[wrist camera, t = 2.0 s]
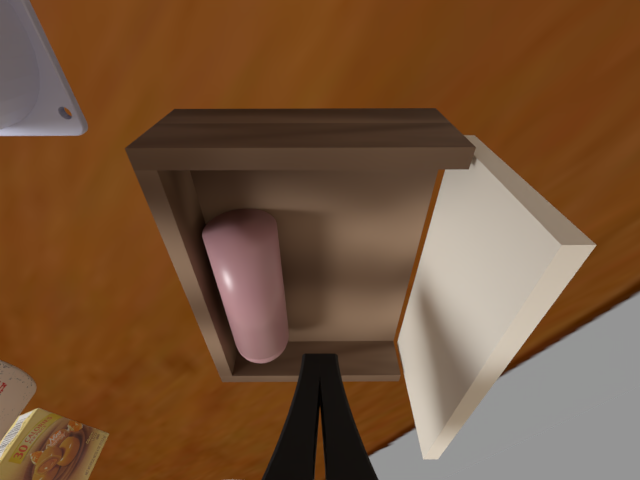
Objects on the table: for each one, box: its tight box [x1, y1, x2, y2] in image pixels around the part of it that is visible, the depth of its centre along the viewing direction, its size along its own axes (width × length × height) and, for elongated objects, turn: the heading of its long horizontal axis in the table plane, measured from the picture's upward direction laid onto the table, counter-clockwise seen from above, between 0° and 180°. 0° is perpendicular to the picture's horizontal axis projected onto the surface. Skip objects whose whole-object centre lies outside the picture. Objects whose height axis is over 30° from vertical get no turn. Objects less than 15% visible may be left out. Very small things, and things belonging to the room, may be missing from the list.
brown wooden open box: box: [125, 108, 476, 382], centre depth 17 cm, size 16×12×4 cm
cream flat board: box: [397, 135, 596, 459], centre depth 14 cm, size 15×1×7 cm, turn 0°
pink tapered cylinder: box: [202, 208, 289, 363], centre depth 16 cm, size 10×3×3 cm, turn 0°
